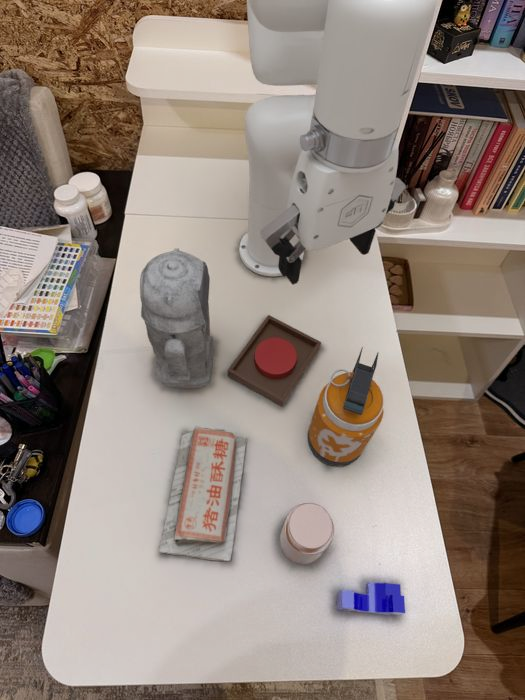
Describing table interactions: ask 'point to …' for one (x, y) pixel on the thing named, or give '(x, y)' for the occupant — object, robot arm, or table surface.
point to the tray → (268, 387)
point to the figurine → (178, 318)
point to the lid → (275, 358)
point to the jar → (306, 533)
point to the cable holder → (373, 599)
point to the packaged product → (204, 495)
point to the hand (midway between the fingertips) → (324, 260)
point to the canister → (346, 415)
